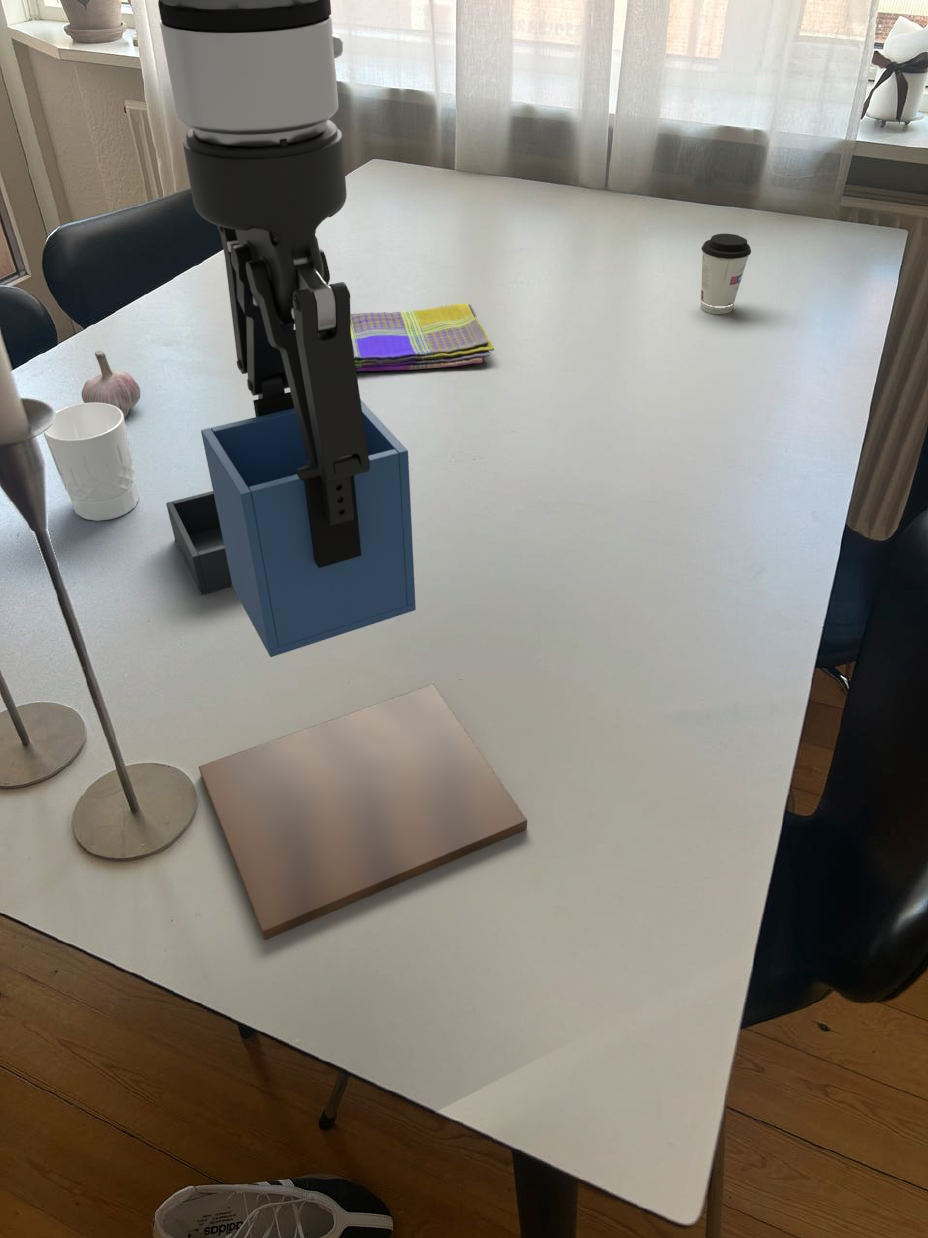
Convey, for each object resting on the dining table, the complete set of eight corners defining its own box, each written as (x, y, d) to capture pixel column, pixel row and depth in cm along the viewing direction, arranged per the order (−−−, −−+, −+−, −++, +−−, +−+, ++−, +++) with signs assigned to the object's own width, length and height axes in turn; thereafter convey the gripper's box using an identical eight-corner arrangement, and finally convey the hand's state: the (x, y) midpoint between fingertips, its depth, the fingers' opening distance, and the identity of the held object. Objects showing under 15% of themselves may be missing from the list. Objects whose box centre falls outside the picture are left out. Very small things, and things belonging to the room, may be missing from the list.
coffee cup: (685, 311, 142) (696, 242, 135) (701, 295, 147) (711, 227, 140) (732, 320, 139) (745, 250, 133) (746, 303, 144) (759, 235, 138)
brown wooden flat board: (264, 940, 64) (262, 932, 63) (200, 774, 75) (198, 766, 74) (527, 829, 71) (527, 820, 70) (433, 692, 82) (433, 683, 81)
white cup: (157, 488, 106) (137, 406, 100) (122, 529, 100) (98, 444, 94) (92, 480, 107) (68, 398, 101) (54, 519, 102) (25, 435, 95)
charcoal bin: (201, 595, 92) (192, 557, 89) (174, 539, 99) (165, 502, 96) (322, 560, 96) (317, 522, 93) (288, 509, 103) (283, 472, 100)
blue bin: (270, 657, 60) (240, 494, 52) (232, 587, 65) (200, 429, 58) (416, 610, 63) (408, 450, 56) (368, 546, 69) (355, 393, 61)
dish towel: (309, 324, 139) (307, 305, 137) (476, 314, 142) (476, 295, 140) (311, 379, 126) (309, 359, 124) (495, 367, 128) (495, 347, 127)
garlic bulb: (127, 427, 116) (111, 366, 111) (72, 422, 118) (53, 360, 112) (155, 398, 122) (141, 338, 117) (102, 393, 123) (85, 333, 118)
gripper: (427, 168, 40) (439, 597, 55) (267, 73, 54) (310, 434, 69) (252, 195, 37) (314, 637, 52) (132, 88, 51) (207, 459, 66)
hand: (312, 521), depth 60 cm, fingers closed on blue bin, 8 cm apart
